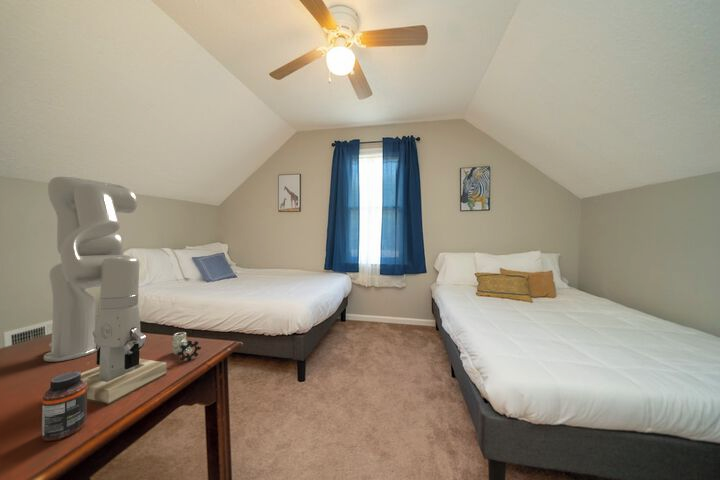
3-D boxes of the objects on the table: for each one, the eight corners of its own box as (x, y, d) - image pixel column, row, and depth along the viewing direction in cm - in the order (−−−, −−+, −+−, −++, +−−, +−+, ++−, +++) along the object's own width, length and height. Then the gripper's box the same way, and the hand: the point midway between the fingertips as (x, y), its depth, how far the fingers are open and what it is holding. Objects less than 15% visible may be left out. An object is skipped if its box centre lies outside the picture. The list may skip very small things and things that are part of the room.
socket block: (60, 395, 62) (60, 381, 62) (124, 367, 75) (124, 356, 75) (108, 405, 58) (108, 390, 58) (166, 374, 72) (166, 362, 72)
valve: (166, 353, 85) (177, 365, 78) (166, 335, 85) (178, 344, 78) (188, 347, 90) (200, 357, 83) (188, 329, 91) (201, 338, 83)
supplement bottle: (65, 421, 53) (67, 368, 53) (95, 420, 54) (96, 368, 54) (30, 443, 47) (32, 384, 47) (64, 442, 48) (66, 383, 48)
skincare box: (107, 389, 63) (109, 342, 64) (97, 386, 65) (99, 340, 65) (136, 377, 69) (137, 334, 69) (126, 374, 71) (127, 332, 71)
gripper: (78, 303, 65) (76, 367, 65) (128, 307, 62) (126, 376, 61) (112, 297, 73) (110, 354, 72) (159, 301, 69) (157, 361, 69)
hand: (117, 364), depth 67 cm, fingers open, 9 cm apart
